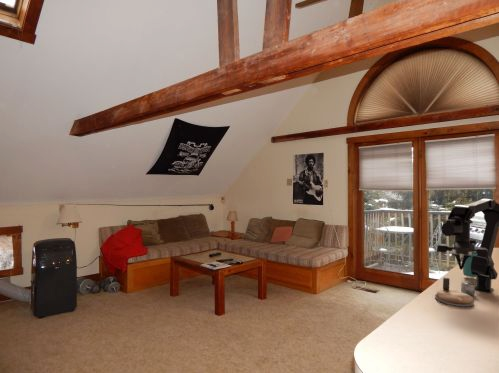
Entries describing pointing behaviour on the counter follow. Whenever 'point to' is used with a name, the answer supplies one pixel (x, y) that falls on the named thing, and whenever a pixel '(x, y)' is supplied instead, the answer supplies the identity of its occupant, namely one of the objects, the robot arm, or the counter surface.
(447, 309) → the counter surface
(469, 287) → the cover
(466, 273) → the beverage bottle
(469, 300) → the turntable
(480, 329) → the counter surface
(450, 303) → the base
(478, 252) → the robot arm
